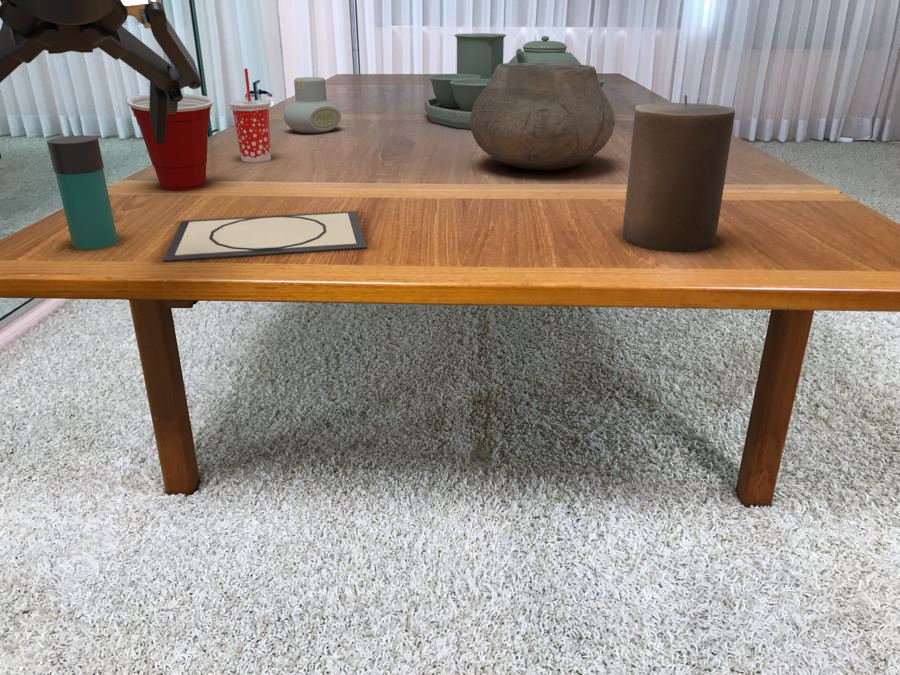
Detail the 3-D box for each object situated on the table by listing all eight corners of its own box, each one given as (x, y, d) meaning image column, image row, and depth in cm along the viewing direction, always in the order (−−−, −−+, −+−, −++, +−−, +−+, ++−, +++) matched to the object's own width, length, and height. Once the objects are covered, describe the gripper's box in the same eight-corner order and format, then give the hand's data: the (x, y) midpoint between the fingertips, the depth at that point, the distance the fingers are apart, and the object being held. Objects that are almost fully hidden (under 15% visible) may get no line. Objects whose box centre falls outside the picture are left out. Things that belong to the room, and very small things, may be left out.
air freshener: (324, 126, 147) (320, 75, 143) (349, 131, 142) (345, 77, 138) (278, 133, 140) (272, 79, 136) (302, 138, 135) (297, 82, 131)
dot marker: (66, 253, 74) (40, 144, 69) (78, 240, 78) (54, 136, 73) (114, 250, 75) (91, 142, 70) (123, 237, 79) (102, 134, 74)
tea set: (394, 127, 146) (391, 39, 139) (465, 103, 180) (466, 31, 172) (588, 140, 132) (595, 43, 125) (625, 111, 166) (633, 33, 159)
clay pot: (495, 150, 123) (497, 57, 117) (620, 159, 116) (630, 60, 110) (449, 177, 105) (449, 68, 98) (595, 189, 98) (605, 73, 92)
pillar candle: (710, 259, 71) (736, 102, 65) (612, 247, 75) (627, 97, 68) (718, 233, 80) (741, 90, 73) (629, 223, 83) (644, 87, 77)
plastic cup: (167, 201, 92) (150, 104, 87) (128, 188, 99) (111, 97, 94) (240, 187, 100) (229, 96, 95) (200, 175, 106) (187, 90, 101)
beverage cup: (247, 156, 119) (236, 66, 113) (281, 157, 118) (272, 67, 112) (230, 163, 114) (217, 70, 108) (266, 165, 113) (255, 70, 107)
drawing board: (163, 264, 70) (162, 257, 70) (182, 225, 83) (181, 219, 83) (367, 251, 74) (366, 244, 74) (355, 215, 87) (355, 209, 86)
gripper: (-173, -18, 41) (-77, 191, 59) (258, -15, 52) (227, 158, 70) (-193, -116, 42) (-94, 115, 60) (227, -92, 54) (205, 96, 72)
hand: (79, 139), depth 65 cm, fingers open, 13 cm apart
